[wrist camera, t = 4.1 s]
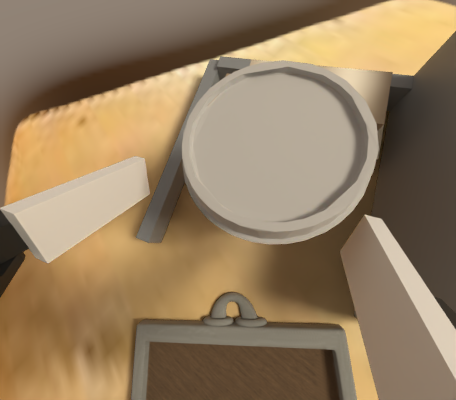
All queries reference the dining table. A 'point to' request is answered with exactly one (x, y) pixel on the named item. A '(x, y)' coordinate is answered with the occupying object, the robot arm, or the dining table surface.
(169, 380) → the empty picture frame
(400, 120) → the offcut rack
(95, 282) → the dining table surface
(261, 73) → the disposable coffee cup
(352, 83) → the offcut stack
